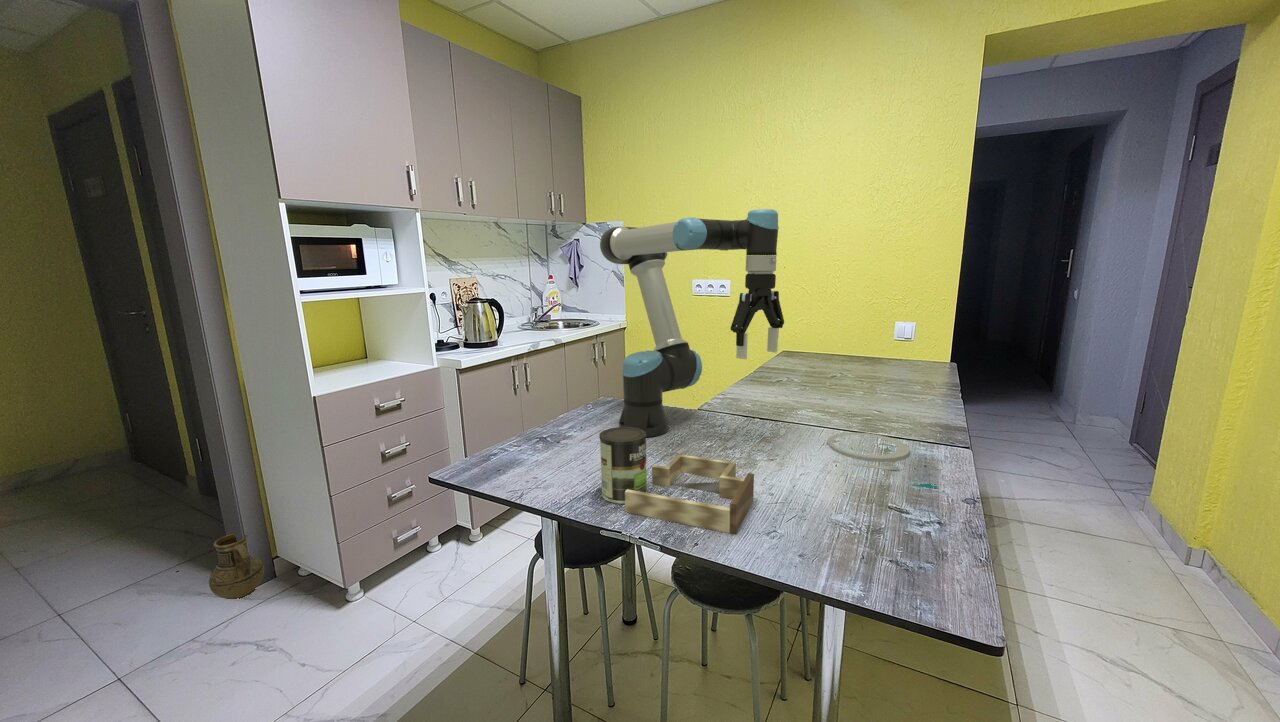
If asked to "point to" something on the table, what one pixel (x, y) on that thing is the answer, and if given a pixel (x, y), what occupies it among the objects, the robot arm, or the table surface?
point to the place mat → (898, 455)
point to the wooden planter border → (692, 510)
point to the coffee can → (622, 462)
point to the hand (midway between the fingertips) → (757, 355)
